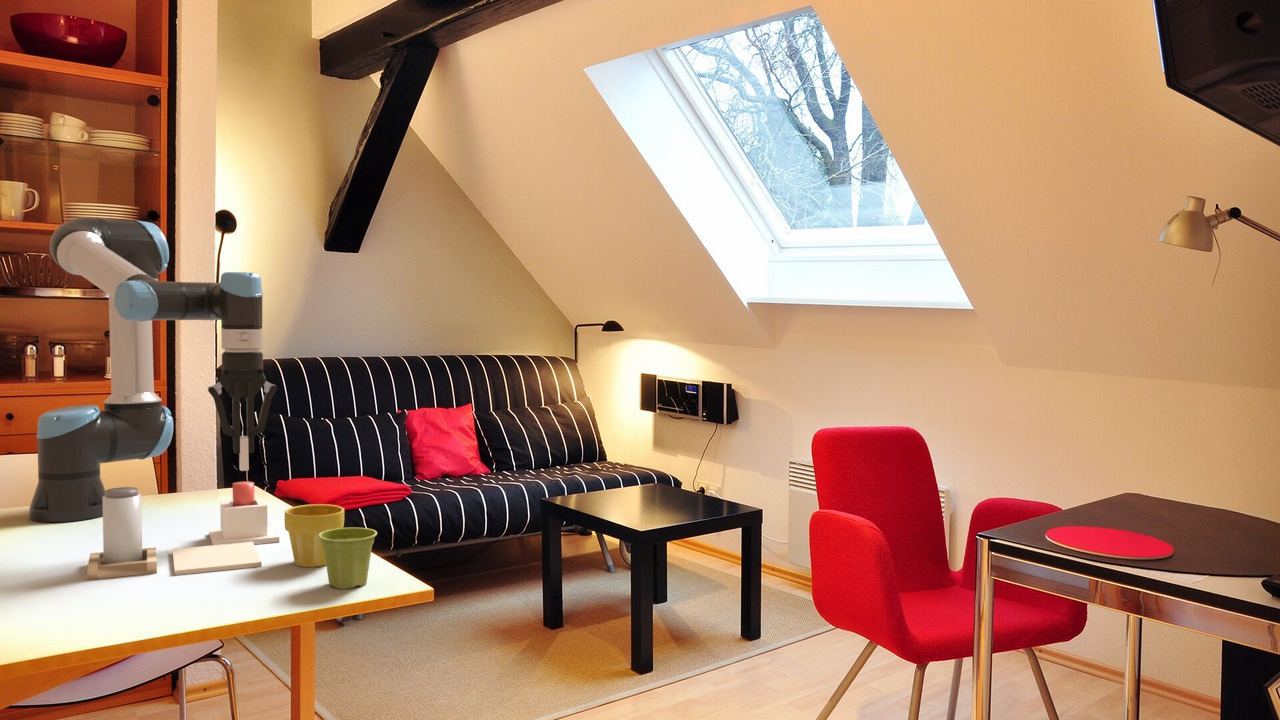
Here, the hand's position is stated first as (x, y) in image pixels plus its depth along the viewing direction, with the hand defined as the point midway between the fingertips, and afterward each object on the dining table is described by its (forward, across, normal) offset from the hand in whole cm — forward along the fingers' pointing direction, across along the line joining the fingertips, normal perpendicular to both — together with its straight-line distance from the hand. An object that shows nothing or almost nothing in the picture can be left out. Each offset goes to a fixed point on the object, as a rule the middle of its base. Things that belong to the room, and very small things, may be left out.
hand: (244, 469), depth 194 cm
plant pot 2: (+15, +13, -40) cm, 44 cm away
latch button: (+8, 0, 0) cm, 8 cm away
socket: (+14, -21, -15) cm, 29 cm away
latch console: (+14, 0, 0) cm, 14 cm away
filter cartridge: (+14, -21, -15) cm, 29 cm away
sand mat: (+14, -6, -15) cm, 21 cm away
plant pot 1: (+14, +10, -24) cm, 29 cm away
